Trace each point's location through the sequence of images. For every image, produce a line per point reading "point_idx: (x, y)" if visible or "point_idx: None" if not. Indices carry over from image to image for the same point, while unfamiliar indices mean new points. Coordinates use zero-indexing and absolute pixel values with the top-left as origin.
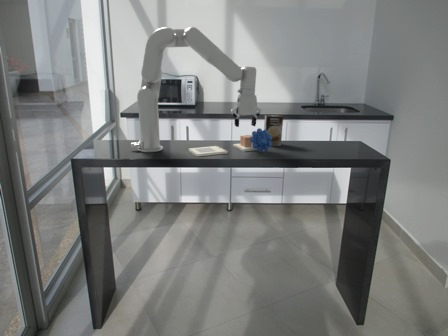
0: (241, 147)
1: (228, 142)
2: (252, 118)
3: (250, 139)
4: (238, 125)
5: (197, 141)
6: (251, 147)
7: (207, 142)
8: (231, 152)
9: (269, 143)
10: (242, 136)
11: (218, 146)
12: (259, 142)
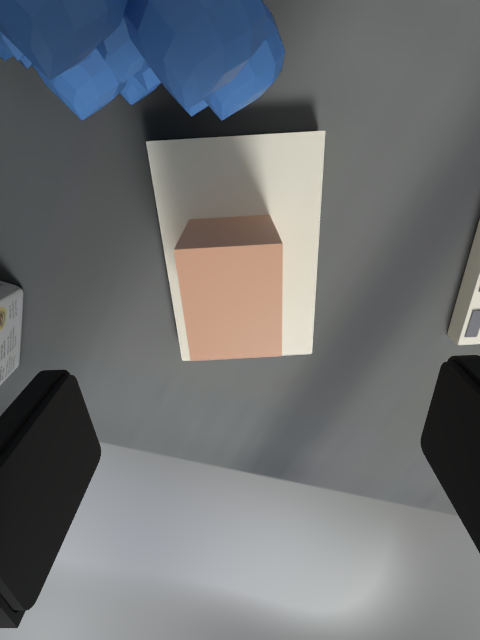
0: (306, 216)
1: (276, 446)
2: (20, 586)
3: (281, 55)
4: (477, 367)
5: (443, 504)
6: (205, 180)
7: (405, 475)
8: (443, 149)
9: None
10: (276, 320)
11: (473, 317)
12: None
